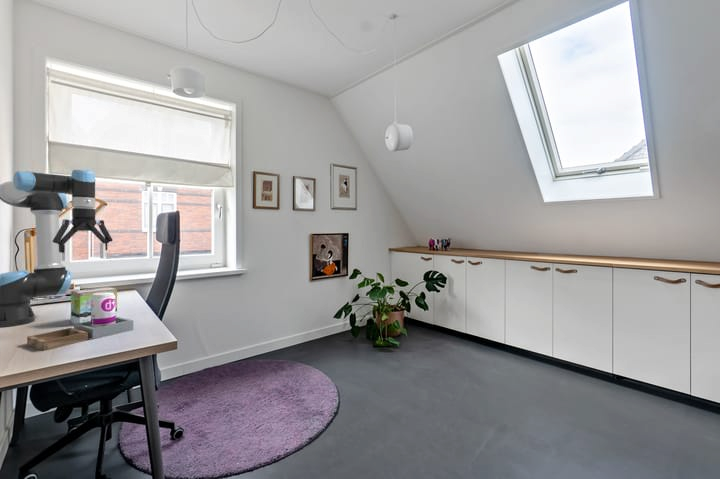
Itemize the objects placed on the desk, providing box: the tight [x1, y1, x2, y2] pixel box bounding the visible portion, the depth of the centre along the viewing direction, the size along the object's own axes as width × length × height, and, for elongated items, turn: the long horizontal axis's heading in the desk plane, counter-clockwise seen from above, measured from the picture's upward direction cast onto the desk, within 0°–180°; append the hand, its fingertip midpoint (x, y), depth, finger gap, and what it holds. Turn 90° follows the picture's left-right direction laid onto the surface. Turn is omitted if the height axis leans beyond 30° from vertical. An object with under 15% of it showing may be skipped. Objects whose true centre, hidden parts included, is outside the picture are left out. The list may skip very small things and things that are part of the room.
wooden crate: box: [26, 327, 89, 351], centre depth 131 cm, size 13×13×3 cm
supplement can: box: [91, 292, 116, 328], centre depth 145 cm, size 8×8×15 cm
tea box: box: [70, 286, 118, 325], centre depth 163 cm, size 15×10×15 cm, turn 148°
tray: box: [73, 316, 134, 340], centre depth 145 cm, size 15×15×4 cm
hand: (84, 259), depth 144 cm, fingers open, 13 cm apart
